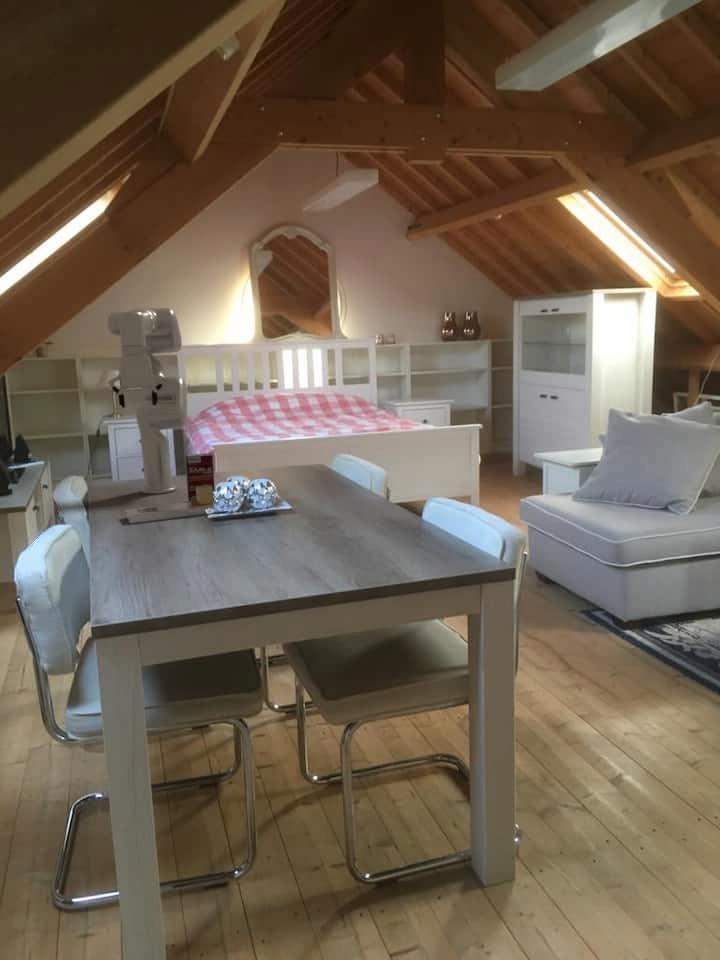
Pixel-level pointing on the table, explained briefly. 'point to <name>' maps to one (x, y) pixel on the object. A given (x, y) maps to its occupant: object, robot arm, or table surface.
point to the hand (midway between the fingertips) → (138, 406)
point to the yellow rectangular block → (204, 495)
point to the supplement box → (199, 473)
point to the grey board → (166, 512)
